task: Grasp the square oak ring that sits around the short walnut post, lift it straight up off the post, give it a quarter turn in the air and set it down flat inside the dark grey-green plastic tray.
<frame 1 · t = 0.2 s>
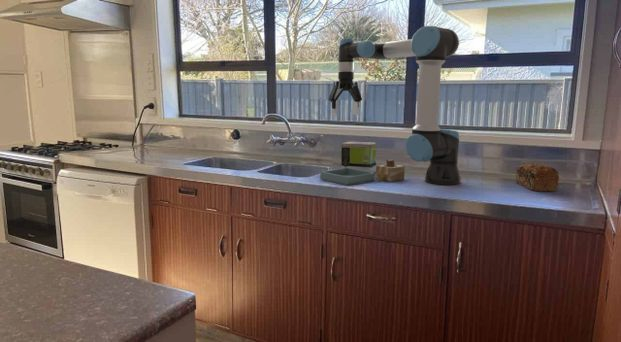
hand: (345, 115, 223), 28 cm above the counter, tool pointing down, fingers open, 13 cm apart
tea box: (358, 172, 223), on the counter
bread: (535, 187, 190), on the counter
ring: (390, 178, 206), on the counter
tray: (347, 180, 203), on the counter
post: (390, 178, 206), on the counter
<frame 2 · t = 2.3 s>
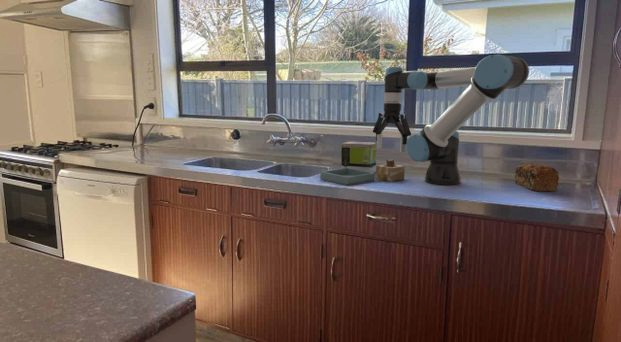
hand: (390, 150, 204), 13 cm above the counter, tool pointing down, fingers open, 13 cm apart
nothing on the counter moved.
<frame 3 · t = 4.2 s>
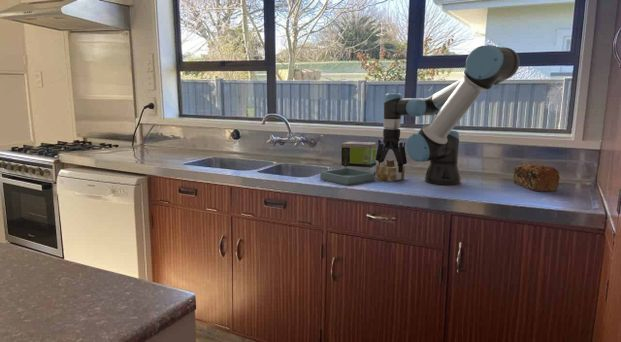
hand: (390, 177, 206), 0 cm above the counter, tool pointing down, fingers closed on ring, 9 cm apart
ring: (390, 178, 206), on the counter, touching gripper
everything else where it was.
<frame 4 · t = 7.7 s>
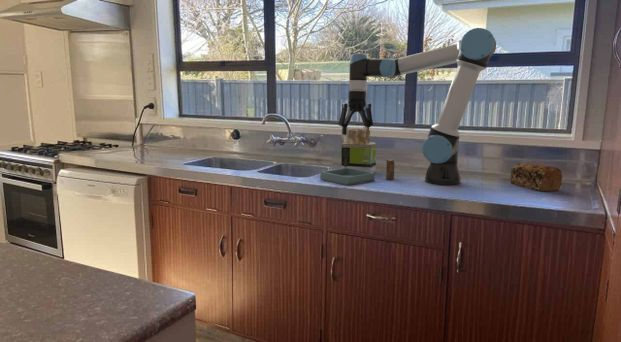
hand: (355, 141, 201), 17 cm above the counter, tool pointing down, fingers closed on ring, 9 cm apart
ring: (355, 142, 201), point 17 cm above the counter, touching gripper
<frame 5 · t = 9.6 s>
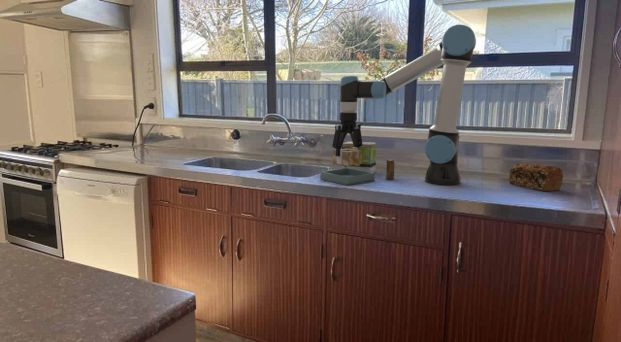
hand: (347, 162, 201), 8 cm above the counter, tool pointing down, fingers closed on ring, 9 cm apart
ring: (347, 163, 201), point 7 cm above the counter, touching gripper
when the fingers open (4 cm above the counter, at t = 11.2 s): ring drops 3 cm, resting on tray.
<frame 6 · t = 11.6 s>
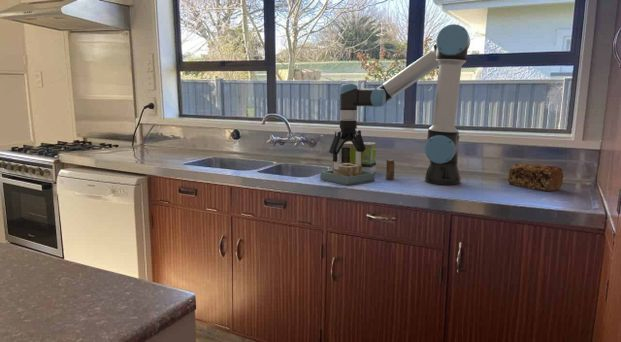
hand: (347, 167, 202), 6 cm above the counter, tool pointing down, fingers open, 13 cm apart
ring: (347, 178, 202), point 1 cm above the counter, touching tray
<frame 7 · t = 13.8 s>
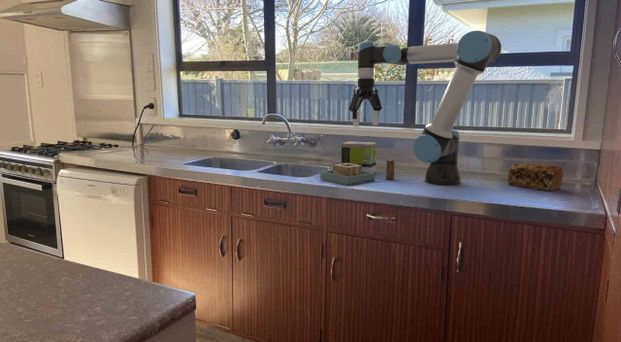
hand: (365, 125, 205), 24 cm above the counter, tool pointing down, fingers open, 13 cm apart
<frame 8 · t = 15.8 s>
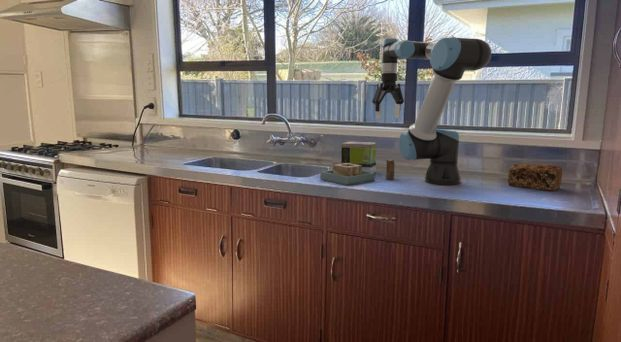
hand: (387, 118, 216), 27 cm above the counter, tool pointing down, fingers open, 13 cm apart
at the end: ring inside the target area on the tray (0.0 cm from its centre), point 0.8 cm above the tray's base; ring tilted 0°; the gripper is holding nothing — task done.
